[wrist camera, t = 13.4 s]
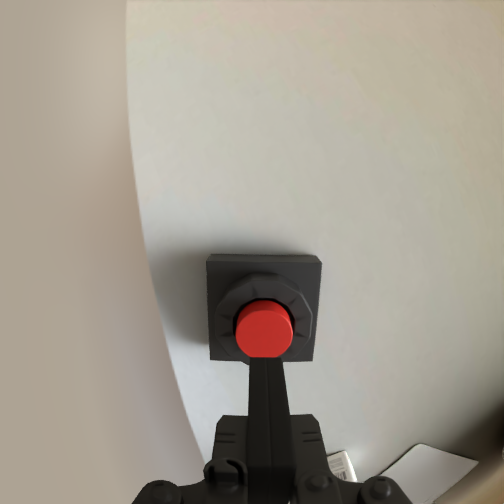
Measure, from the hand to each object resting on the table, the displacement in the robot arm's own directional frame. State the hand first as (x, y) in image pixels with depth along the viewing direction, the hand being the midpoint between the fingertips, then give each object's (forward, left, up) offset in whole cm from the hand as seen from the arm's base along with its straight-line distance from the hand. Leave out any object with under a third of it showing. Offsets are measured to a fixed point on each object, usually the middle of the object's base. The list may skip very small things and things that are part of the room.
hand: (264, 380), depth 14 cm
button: (0, 0, -7) cm, 7 cm away
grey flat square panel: (+36, +23, -10) cm, 44 cm away
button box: (0, 0, -10) cm, 10 cm away
